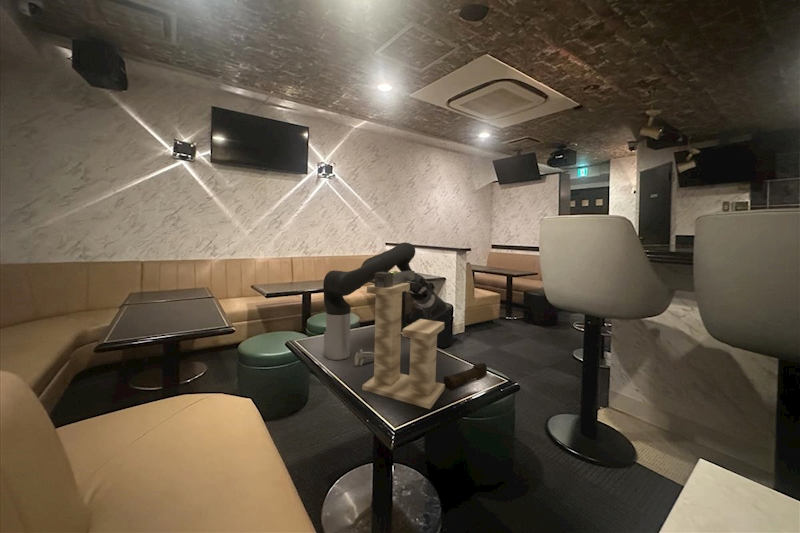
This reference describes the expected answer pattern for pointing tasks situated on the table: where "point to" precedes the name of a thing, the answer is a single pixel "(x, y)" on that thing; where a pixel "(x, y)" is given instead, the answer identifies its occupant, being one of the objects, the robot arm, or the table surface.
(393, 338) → the stand
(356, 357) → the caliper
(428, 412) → the table surface
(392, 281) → the spirit level
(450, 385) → the dark brown bar
